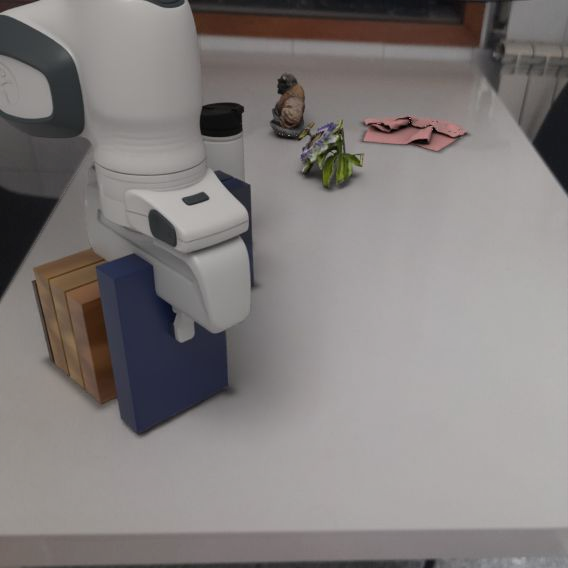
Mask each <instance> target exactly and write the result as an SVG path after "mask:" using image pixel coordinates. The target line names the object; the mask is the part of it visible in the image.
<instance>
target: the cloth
mask: <svg viewBox="0 0 568 568" xmlns="http://www.w3.org/2000/svg"><path fill="white" fill-rule="evenodd" d="M404 116H405V117H403V116H398V117H399V118H394V117H395V116H392V117H393V118H390V117H391V116H389V117H388V118H384V119H371V118H366V119H363V120H364V121H363V122H364V123H365V126H367V125H368V126H369V127H368V129H367V130H366V133H365V136H364V137H363V142H368V143H369V142H370V143H378V144H390V145H391V144H392V145H408V144H410V145H414V146H418V147H421V148H424V149H427V150H431V151H434V152H439V151H441V150H442V149H444V148H446V147H447V146H449V145H451V144H452V143H454V142H455V141H457V140H459V136H463V135H467V134H468V131H467V129H465V128H464V127H463V126H461V125H459V124H457V123H455V124H454V122H451V121H448V120H442V119H435V118H425V117H420V119H419V120H418V121H416V120H417V119H418V117H419V116H413V115H412V116H411V115H404ZM409 118H411V119H409ZM411 121H412V122H411ZM414 121H416V122H414ZM432 121H434V122H432ZM436 121H438V123H439V124H440V125H439V126H438V129H437V124H438V123H437V122H436ZM409 122H410V123H409ZM413 122H414V123H413ZM377 123H381V124H377ZM427 123H429V124H427ZM456 124H457V125H456ZM425 125H426V127H425ZM443 125H445V127H444V128H443V129H445V130H447V131H445V130H443V129H442V126H443ZM430 126H433V127H430ZM378 127H379V128H378ZM460 128H461V129H462V128H463V129H464V130H461V129H460ZM432 129H433V130H432ZM436 129H437V130H436ZM459 129H460V130H459ZM448 131H451V132H448ZM454 132H457V133H454Z"/></svg>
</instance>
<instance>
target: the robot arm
mask: <svg viewBox="0 0 568 568" xmlns="http://www.w3.org/2000/svg"><path fill="white" fill-rule="evenodd" d="M192 11H193V10H192V8H191V4H190V2H189V0H37V1H33V2H30V3H26V4H24V5H19V6H17V7H16V6H15V7H13V8H9V9H7V10H4V11H2V12H0V118H1V119H2V120H4V122H6V123H7V124H8V125H10V126H11V127H13V128H14V129H16V130H17V131H19V132H21V133H23V134H26V135H28V136H31V137H35V138H43V139H45V138H46V139H72V138H77V137H78V138H83V139H84V140H85V139H86V140H87V141H88V142H89V143H90V144H91V147H92V153H93V156H92V157H93V162H92V163H91V165H90V167H88V179H89V183H88V184H86V186H85V187H84V191H83V192H84V193H83V207H84V208H83V209H84V220H85V221H84V222H85V230H86V236H87V241H88V243H89V245H90V247H91V248H92V249H93V251H94V252H95V253H96V254H98V255H99V256H101V257H102V258H103V259H105V260H106V261H108V262H110V261H112V260H115V259H118V258H121V257H124V256H127V255H130V254H133V253H135V254H136V255H138V256H139V257H141V258H142V259H144V260H145V261H147V262H149V263H150V264H152V265H153V270H154V280H155V290H156V293H157V296H159V297H160V298H162V299H163V300H165V301H166V302H168V303H169V304H170V305H172V310H173V312H175V313H177V315H176V318H175V319H173V320H171V321H169V322H168V323H169V329H170V331H169V332H170V335H171V336H172V337H173V338H175V339H176V340H177V341H179V342H181V343H182V342H185V341H187V340H189V339H191V338H193V336H194V334H195V331H194V321H195V322H197V323H198V324H200V325H201V326H203V327H204V328H205V329H207V330H208V331H210V332H211V333H219V332H222V331H224V330H226V331H227V330H229V329H231V328H233V327H235V326H237V325H239V324H241V323H243V322H244V321H245V319H247V317H248V316H249V315H250V311H251V305H252V304H251V302H252V301H251V300H252V289H251V288H252V287H251V282H250V264H249V256H248V252H247V248H246V246H245V243H244V242H243V240H242V238H241V237H240V236H239V234H241V233H243V232H246V231H247V230H248V227H249V217H248V212H247V210H246V208H245V207H244V206H243V205H242V204H241V203H240V202H239V201H238V200H237V199H236V198H235V197H234V196H233V195H232V194H231V193H230V192H229V191H228V190H227V189H226V188H225V186H224V185H223V184H222V183H221V182H220V180H219V179H218V178H217V176H216V175H215V173H214V172H213V171H212V170H211V169H210V168H207V155H206V147H205V144H204V141H203V138H202V135H201V131H200V114H201V110H202V106H204V88H203V73H202V72H203V71H202V62H201V53H200V52H201V51H200V43H199V37H198V32H197V25H196V22H195V19H194V15H193V12H192Z"/></svg>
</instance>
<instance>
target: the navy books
mask: <svg viewBox="0 0 568 568" xmlns="http://www.w3.org/2000/svg"><path fill="white" fill-rule="evenodd" d="M214 173H215V175H216V176H217V178H218V179H219V180H220V182H221V183H222V184H223V185H224V186H225V188H226V189H227V190H228V191H229V192H230V193H231V194H232V195H233V196H234V197H235V198H236V199H237V200H238V201H239V202H240V203H241V204H242V205H243V206H244V207H245V208H246V210H247V212H248V217H249V227H248V230H247V231H246V232H243V233H241V234H239V236H240V237H241V238H242V240H243V242H244V243H245V246H246V248H247V252H248V256H249V264H250V282H251V288H252V287H254V286H255V283H254V281H255V280H254V278H255V276H254V246H253V245H254V243H253V220H252V219H253V218H252V217H253V216H252V215H253V214H252V187H251V186H252V185H251V184H250V183H248V182H246V181H245V182H244V181H241V180H239V179H237V178H234V177H233V176H231V175H229V174H226V173H224V172H222V171H220V170H217V171H214Z"/></svg>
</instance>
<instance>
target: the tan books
mask: <svg viewBox="0 0 568 568" xmlns="http://www.w3.org/2000/svg"><path fill="white" fill-rule="evenodd" d="M107 262H108V261H106V260H105V259H103V258H102V257H101V256H99V255H98V254H96V253H95V252H94V251H93V249H92V247H91V248H88V249H86V250H83V251H79V252H76V253H73V254H71V255H67V256H64V257H61V258H58V259H55V260H52V261H50V262H46V263H43V264H40V265H38V266H35V267H34V266H33V268H32V270H33V275H34V278H35V279H33V280H31V284H32V285H31V286H32V290H33V293H34V297H35V301H36V305H37V310H38V314H39V319H40V322H41V328H42V331H43V335H44V340H45V344H46V347H47V348H46V349H47V352H48V355H49V360H50V361H51V363H54V364H55V365H56V367H57V368H58V369H60V370H61V371H62V372H63V373H64V374H65V375H67V376H68V377H70V379H71V380H73V381H74V382H75V383H76V384H77V385H78V386H80V387H81V388H82V389H83V390H84V391H85V392H86V393H88V395H90V396H91V397H92V398H93V399H94V400H96V402H97V403H99V405H103V404H105V403H107V402H109V401H111V400H113V399H115V398H117V392H116V386H115V380H114V374H113V368H112V362H111V357H110V351H109V345H108V339H107V333H106V327H105V321H104V315H103V309H102V303H101V297H100V291H99V285H98V279H97V273H96V266H98V265H101V264H104V263H107Z"/></svg>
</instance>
